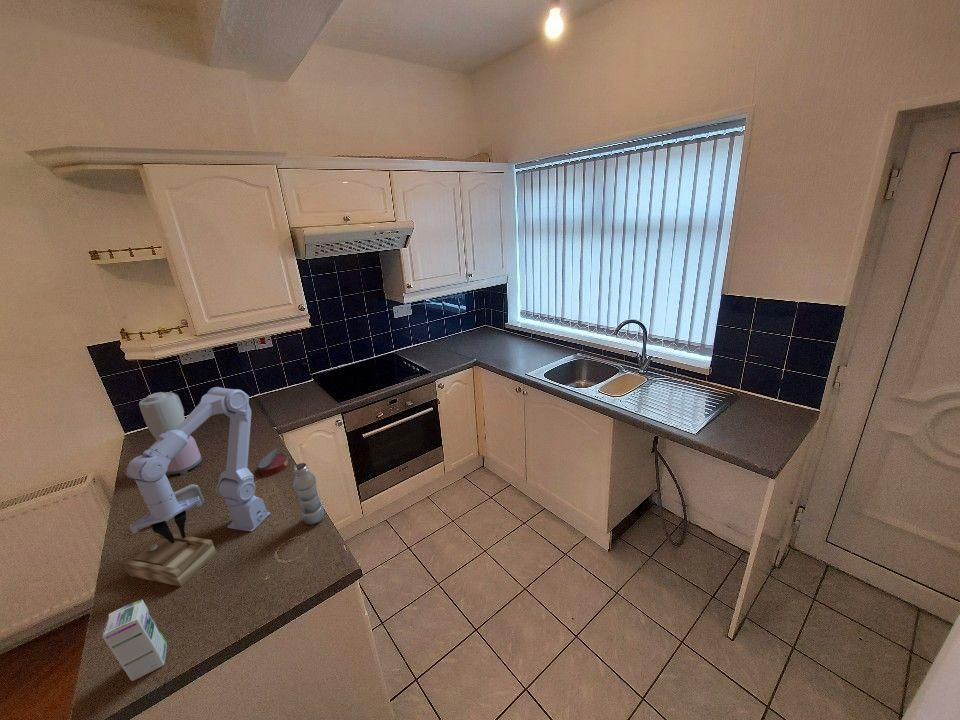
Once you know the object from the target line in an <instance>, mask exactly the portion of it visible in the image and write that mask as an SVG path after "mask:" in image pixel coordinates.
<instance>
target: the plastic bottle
mask: <svg viewBox="0 0 960 720" xmlns="http://www.w3.org/2000/svg"><path fill="white" fill-rule="evenodd" d="M293 473H294V475H295V476H294V478H293V481H292V486H293V489H294V491H295V493H296V495H297V498H298V500H299V503H300V508H301V519H302V520H303V522H304V523H305V524H307V525H315V524H317V523H320V521H322V520H323V518H324V516H325V508H324V506H323V504H322V502H321V499H320V497H319V493H318V489H317V479H316V476H315V474H314V473H312V472H311V471H309V467H308V465H307V463H305V462H299V463H297V464H295V465H294V466H293Z"/></svg>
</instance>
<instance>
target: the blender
mask: <svg viewBox="0 0 960 720" xmlns="http://www.w3.org/2000/svg"><path fill="white" fill-rule="evenodd" d="M138 407H139V409H140V412H141V416H142V417H143V418H142V419H143V420H144V422H145V424H146V427H147V429H148V431H149V432H150V433H151V434H152V436H153V438H154V440H156V441H157V440H158V439H159V436H160V435H161V434H162V433H166V432H167V431H171V430H175V429H177V427H178V426H179V425H180V424H181V423H182V422H183V421H184V420H185V419H186V418H185V409H184V406H183V404H182V400H181V398H180V396H179V394H177V393H175V392H172V391H169V392H168V391H166V392H163V391H159V392H154V393H152V394H149V395H148V396H146V397H145V398H143V399H142V400H140V401H139V403H138ZM202 457H203V456H202V455H201V453H200V449H199V448H198V445H197V442H196V439H195V438H194V437H193V436H192V434H190V435H189V436H188V443H187V445H186V446H185V447H184V448H183V449H182V450H181V451H180V452H179V453H178V454H177V455H176V456H175V457H174V458H173V459H172V460H171V461H170V464H169V465H168V469H167V472H166V476H168V477H170V476H171V475H176V474H180V475H181V476H185V475H186V474H188V473H189V472H188V471H189V470H191V469H193V468H195V467H196V466H198V465H199V464H200V463H201V462H203V458H202Z"/></svg>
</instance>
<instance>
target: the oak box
mask: <svg viewBox="0 0 960 720" xmlns="http://www.w3.org/2000/svg"><path fill="white" fill-rule="evenodd" d="M172 535H173V537H174V540H175V541H181V542H187V544H188V546H189V547H188V548H186V549H185V550H184V551H183V552H182V553H181V554H179V555H178V556H177V557H176V558H175V559H174V560H173V561H171V562H170V563H169V564H168V565H167V566H166V567H165V566H160V565H155V564H150V563H144V562H139V561H134V559H129V558H128V559H127V560H125V561H123V565H124V566H125V567H124V568H125V569H126V570H127V573H128V575H129V577H132V578H134V577H135V578H139V579H143V580H148V581H152V582H156V583H157V582H158V583H162V584H167V585H171V586H177V587H183V586H184V585H185V583H187V582H188V581H189V580H190V579H191V578H192V577H193V576H194V575H195V574H196V573H197V572H198V571H199V570H201V568H203V566H205V565H206V564H207V563H208V562H209V561H210V560H211V559H212V558H213V557H214V556H215V555H216V554H217V553H218V552H217V550H216V547H215V546H214V545H215V544H214V543H213V540H212V539H208V538H201V537H196V536H189V535H186V537H185V538H182V536H181V534H178V533H172ZM158 536H159V538H163V539H166V538H165V537H164V536H162V535H160V534H158Z"/></svg>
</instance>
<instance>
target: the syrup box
mask: <svg viewBox="0 0 960 720" xmlns="http://www.w3.org/2000/svg"><path fill="white" fill-rule="evenodd" d="M102 639H103V640H104V642H105V643H106V645H107V646H108V648H109V649H110V651H111V653H112V655H114V658H116V660H117V661H118V663H119V664H120V666H121V667H122V670H123V671H124V672H125V674H126V675H127V677H128V678H129V679H130V681H131V682H133V681H136V680H138V679H141V678H142V677H144V676H146V675H148V674H150V673H152V672H153V671H156V670H157V669H159V668H161V667H163V666H165V662H166V661H165V660H166V657H167V647H168V642H167V640H166V638H165V637H164V635H163V633H162V631H161V629H160V627H159V625H158V624H157V623H156V620H155V619H154V617H153V616H152V613H151V612H150V610H149V608H148V607H147V605H146V603H145V602H144V600H143V599H138V600H136V601H133V602H131V603H129V604H126V605H124V606H122V607H121V608H118V609H116V610H114V611H112V612H110V613H108V617H107V621H106V623H105V626H104V629H103V633H102Z"/></svg>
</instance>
